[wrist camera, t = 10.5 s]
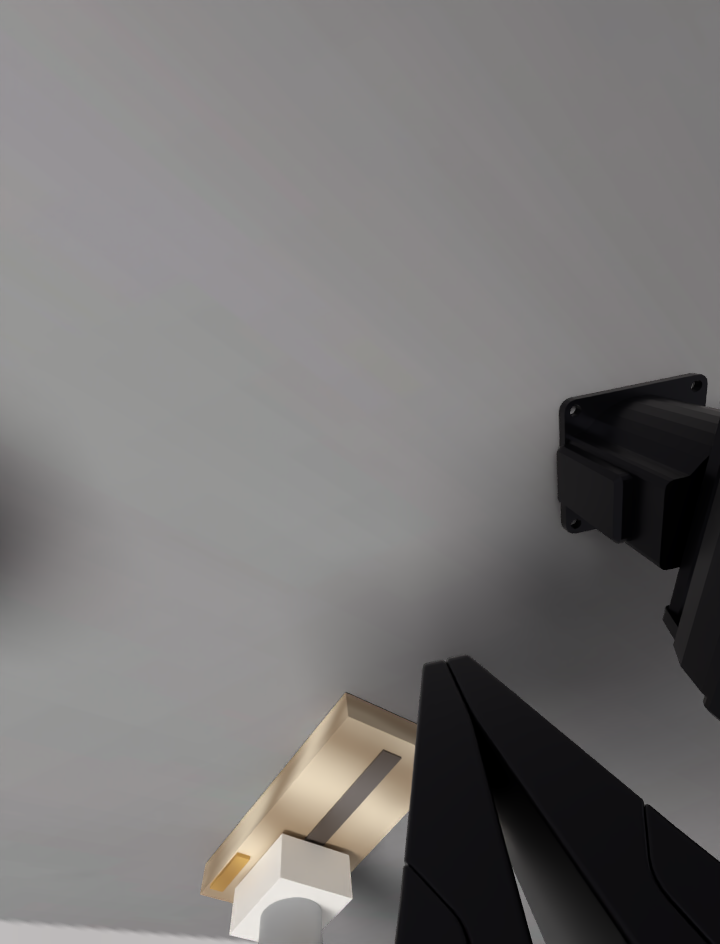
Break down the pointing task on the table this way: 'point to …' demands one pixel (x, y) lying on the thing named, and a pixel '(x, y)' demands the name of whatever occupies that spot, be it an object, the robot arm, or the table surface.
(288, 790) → the fader track
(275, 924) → the lever
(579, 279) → the table surface
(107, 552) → the table surface
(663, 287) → the table surface
